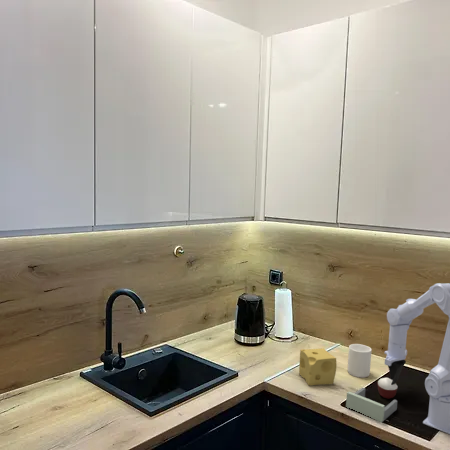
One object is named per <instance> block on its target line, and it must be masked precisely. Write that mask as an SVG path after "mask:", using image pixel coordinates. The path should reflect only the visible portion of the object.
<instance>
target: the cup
mask: <svg viewBox="0 0 450 450" xmlns="http://www.w3.org/2000/svg"><path fill="white" fill-rule="evenodd" d="M371 363H372V348H371V347H370V346H367V345H365V344H362V343H361V344H360V343H352V344H350V345H348V359H347V373H348V374H349V375H351V376H353V377H355V378H360V379H361V378H368V377H369V376H370V374H371Z"/></svg>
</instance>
